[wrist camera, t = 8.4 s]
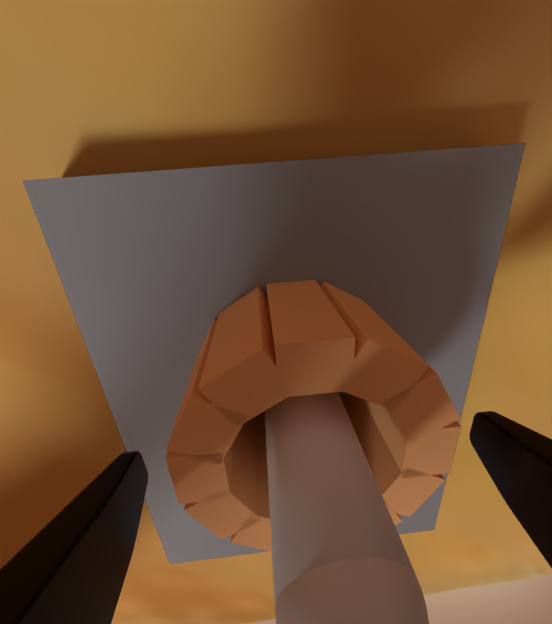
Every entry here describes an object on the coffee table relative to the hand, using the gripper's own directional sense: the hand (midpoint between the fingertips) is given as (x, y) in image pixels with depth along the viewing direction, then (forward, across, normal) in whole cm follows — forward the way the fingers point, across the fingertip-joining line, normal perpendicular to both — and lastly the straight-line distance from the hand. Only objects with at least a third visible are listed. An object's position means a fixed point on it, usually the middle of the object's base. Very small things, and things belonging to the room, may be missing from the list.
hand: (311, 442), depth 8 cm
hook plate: (+5, 0, +2) cm, 5 cm away
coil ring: (+3, 0, 0) cm, 3 cm away
